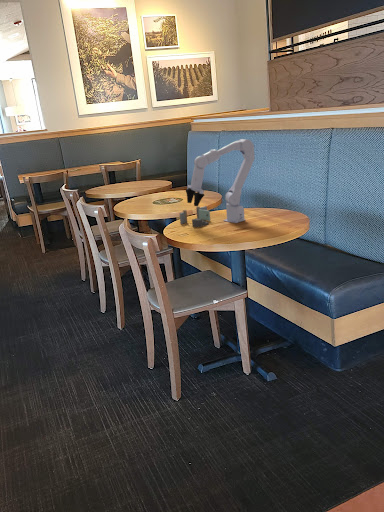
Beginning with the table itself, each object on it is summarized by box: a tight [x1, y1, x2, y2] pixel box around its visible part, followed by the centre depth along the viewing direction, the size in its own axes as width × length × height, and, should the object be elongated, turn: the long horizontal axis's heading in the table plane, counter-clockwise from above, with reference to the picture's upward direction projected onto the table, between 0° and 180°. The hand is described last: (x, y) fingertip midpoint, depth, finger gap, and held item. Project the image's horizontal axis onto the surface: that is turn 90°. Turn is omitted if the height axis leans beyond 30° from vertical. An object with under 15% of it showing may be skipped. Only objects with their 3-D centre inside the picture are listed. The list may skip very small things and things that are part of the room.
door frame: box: [179, 205, 208, 225], centre depth 253 cm, size 2×20×7 cm, turn 133°
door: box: [198, 209, 211, 222], centre depth 251 cm, size 2×9×6 cm, turn 42°
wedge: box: [191, 217, 210, 228], centre depth 241 cm, size 8×4×4 cm, turn 132°
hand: (192, 204), depth 240 cm, fingers open, 7 cm apart
